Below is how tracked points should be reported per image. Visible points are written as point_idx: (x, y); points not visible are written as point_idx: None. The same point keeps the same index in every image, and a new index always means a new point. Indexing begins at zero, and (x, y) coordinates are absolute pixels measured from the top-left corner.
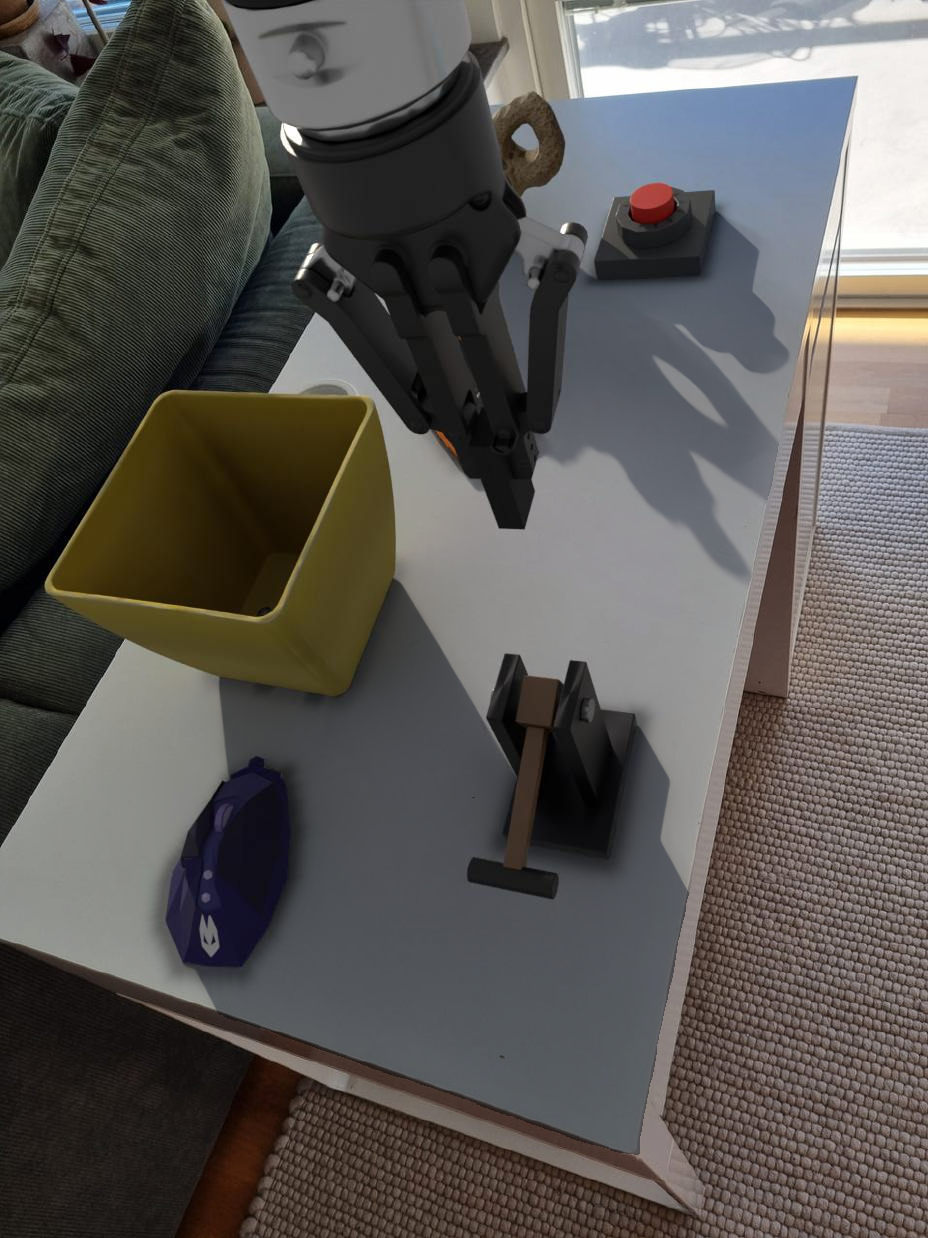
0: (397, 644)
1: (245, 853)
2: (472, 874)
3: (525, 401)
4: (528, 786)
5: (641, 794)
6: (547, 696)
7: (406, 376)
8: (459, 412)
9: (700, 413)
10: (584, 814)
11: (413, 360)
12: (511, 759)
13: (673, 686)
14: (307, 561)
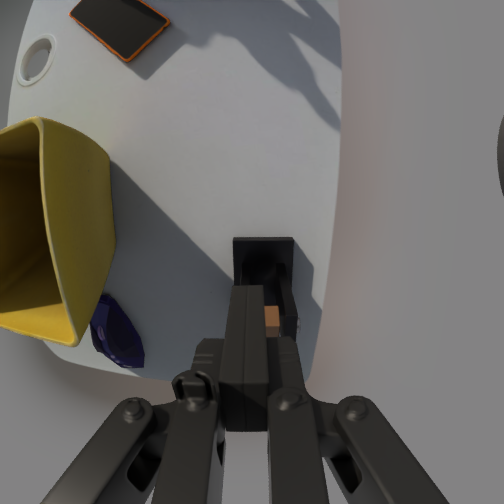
0: (130, 207)
1: (121, 348)
2: None
3: (323, 447)
4: None
5: (300, 276)
6: (273, 333)
7: (130, 502)
8: (222, 476)
9: (290, 7)
10: (275, 299)
11: (115, 486)
12: None
13: (309, 211)
14: (67, 296)
